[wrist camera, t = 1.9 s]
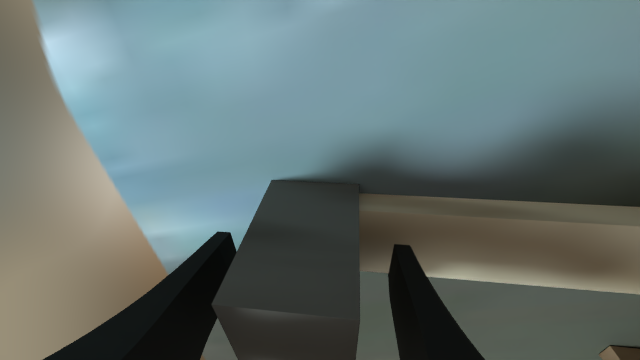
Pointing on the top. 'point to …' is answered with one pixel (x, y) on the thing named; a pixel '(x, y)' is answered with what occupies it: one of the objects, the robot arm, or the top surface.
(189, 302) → the robot arm
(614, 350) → the walnut bench
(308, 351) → the ash handle hammer
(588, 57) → the top surface
